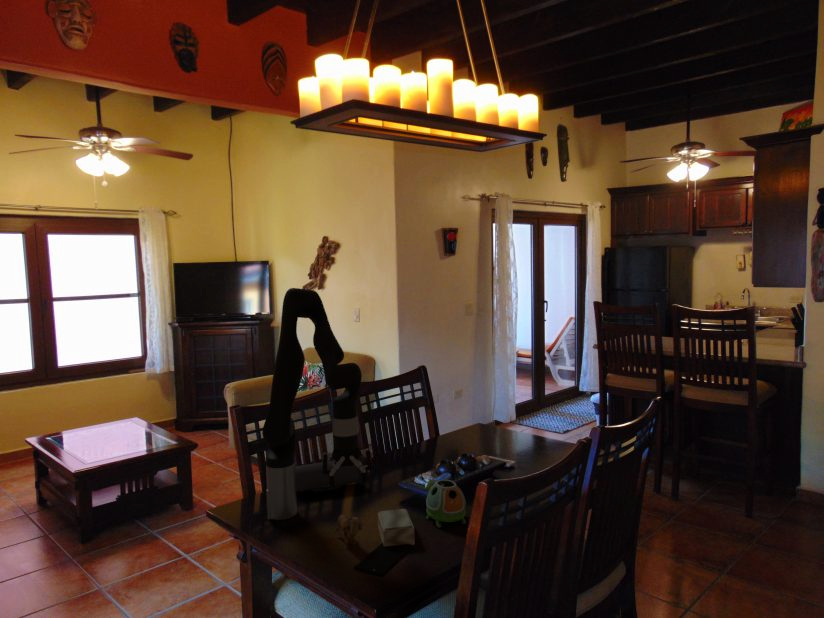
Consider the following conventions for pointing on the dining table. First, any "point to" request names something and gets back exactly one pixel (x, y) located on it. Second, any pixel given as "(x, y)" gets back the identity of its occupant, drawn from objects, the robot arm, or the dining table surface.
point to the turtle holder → (445, 502)
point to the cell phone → (382, 559)
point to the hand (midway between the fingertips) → (347, 485)
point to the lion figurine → (349, 528)
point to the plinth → (395, 527)
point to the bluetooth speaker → (323, 477)
